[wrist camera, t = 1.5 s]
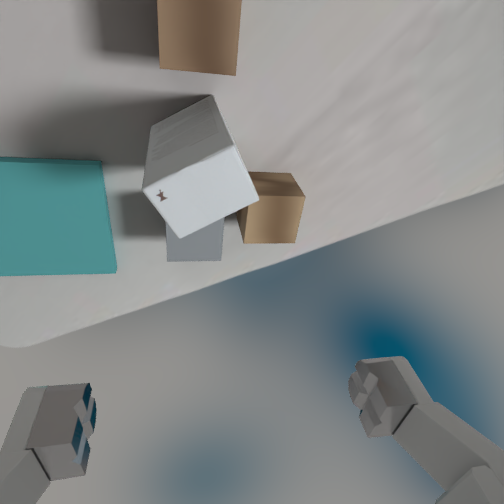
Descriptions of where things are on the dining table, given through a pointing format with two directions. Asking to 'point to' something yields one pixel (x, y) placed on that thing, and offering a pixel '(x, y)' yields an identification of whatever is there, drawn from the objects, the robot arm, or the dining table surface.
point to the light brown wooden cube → (272, 209)
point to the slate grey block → (196, 244)
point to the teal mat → (54, 218)
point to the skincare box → (195, 169)
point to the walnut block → (199, 35)
